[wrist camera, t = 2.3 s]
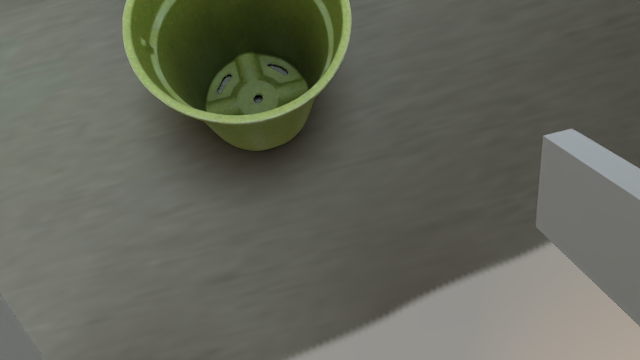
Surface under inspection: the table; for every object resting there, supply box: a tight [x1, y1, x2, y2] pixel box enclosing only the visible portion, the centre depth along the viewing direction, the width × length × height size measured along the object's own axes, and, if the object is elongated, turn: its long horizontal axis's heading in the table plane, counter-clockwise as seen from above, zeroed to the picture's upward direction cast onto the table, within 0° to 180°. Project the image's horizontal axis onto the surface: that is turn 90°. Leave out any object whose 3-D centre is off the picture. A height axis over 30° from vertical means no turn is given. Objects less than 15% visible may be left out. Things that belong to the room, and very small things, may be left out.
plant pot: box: [122, 0, 351, 151], centre depth 24 cm, size 9×9×9 cm
